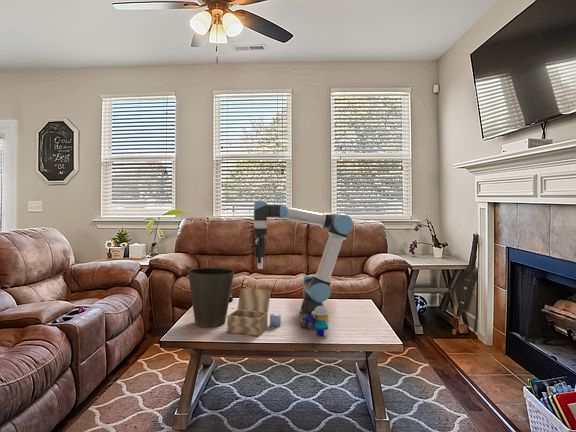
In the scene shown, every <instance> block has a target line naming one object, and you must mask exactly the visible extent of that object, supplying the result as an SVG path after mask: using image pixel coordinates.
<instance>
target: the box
mask: <svg viewBox="0 0 576 432" xmlns="http://www.w3.org/2000/svg"><path fill="white" fill-rule="evenodd" d="M268 313H269V312H268ZM268 313H266V312H256V311H246V310H234V311H233V312H232V313H230V314H227V316H226V322H227V325H226V329H227V330H226V331H227V333H226V334H232V335H233V334H234V335H235V334H236V335H243V336H251V337H257V338H258V337H260V336H262V335H263V334H264V333H265V332H266V331H267V330H268V327H269V326H268Z"/></svg>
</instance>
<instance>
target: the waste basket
mask: <svg viewBox="0 0 576 432" xmlns="http://www.w3.org/2000/svg"><path fill="white" fill-rule="evenodd" d="M187 274H188V275H187V276H188V280H189V289H190V296H191V303H192V308H193V309H192V310H193V318H194V323H195V325H196V326H197V327H199V328H205V329H208V328H209V329H211V328H213V329H214V328H218V327H222V326H223V325H225V323H226V322H227V316H228V310H229V304H230V302H229V298H230V294H232V291H231V290H232V285H233V281H234V280H233V279H234V275H235V270H233V269H230V268H219V267H200V268H199V267H198V268H191V269H188V270H187Z"/></svg>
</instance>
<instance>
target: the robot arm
mask: <svg viewBox="0 0 576 432" xmlns="http://www.w3.org/2000/svg"><path fill="white" fill-rule="evenodd" d="M268 218H269V219H270V218H271V219H272V218H273V219H274V218H276V219H283V220H289V221H294V222H298V223H299V222H300V223H303V224H304V223H305V224H309V225H315V226H319V227H320V228H322V229H326V230H328V231H327V234H328V239H327V242H326V244H325V247H324V250H323V254H322V256H321V260H320V263H319V264H318V268H317V271H316V273H315V274H309V275H304V276H303V279H302V281H303V282H302V283H303V285H302V286H303V291H302V292H303V297H302V298H303V299H302V302H301V305H300V313H302V314H303V315H311V313H312V312H313V311H314V310H315V308H316V307H317V306H323V307H324V308H325V306H324V303H323V302H325V301H327V300H328V299H329V298H330V296H331V289H330V288H331V285H332V280H331V277H332V274H333V271H334V268H335V265H336V262H337V260H338V256H339V253H340V251H341V248H342V245H343V241H345V240H347V238H348V235H349V234H350V233H351V232H352V231H353V229H354V221H353V218H352V217H351V216H350V215H348V214H346V213H338V212H337V213H328V212H322V213H321V212H320V213H319V212H314V211H308V210H303V209H299V208H293V207H288V206H287V205H286V204H268V202H267V201H265V200H263V201H261V200H259V201H254V205H253V227H254V228H253V235H255V236H256V237H255V240H254V241H253V243H254V252H255V258H257V269H258V270H262V269H264V267H263V266H264V258H265V255H266V253H265V252H266V244H267V243H266V242H267V239H266V238H265V236H266V235H268V229H267V227H268Z"/></svg>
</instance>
